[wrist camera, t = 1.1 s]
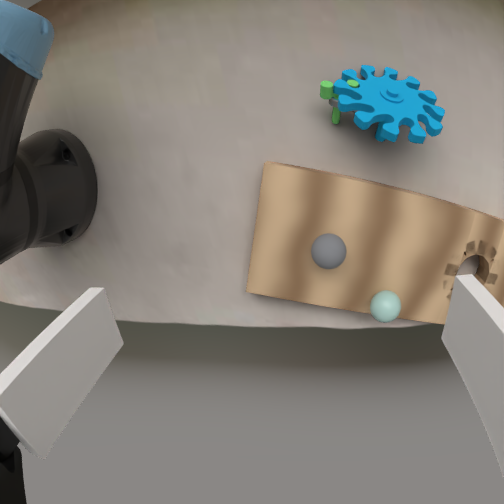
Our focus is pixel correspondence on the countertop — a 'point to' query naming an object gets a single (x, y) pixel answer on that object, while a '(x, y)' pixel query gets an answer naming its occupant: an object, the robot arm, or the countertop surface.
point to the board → (368, 243)
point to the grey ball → (328, 251)
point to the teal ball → (385, 306)
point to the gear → (384, 103)
